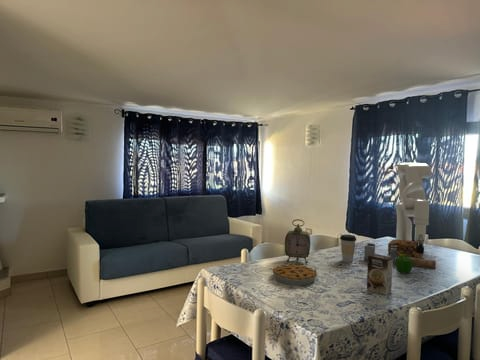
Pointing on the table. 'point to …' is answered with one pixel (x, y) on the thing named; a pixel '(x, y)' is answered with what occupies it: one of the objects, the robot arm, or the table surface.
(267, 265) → the table surface
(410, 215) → the robot arm
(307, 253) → the tabletop clock
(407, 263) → the bell pepper
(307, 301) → the table surface
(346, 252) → the coffee cup
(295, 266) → the pie
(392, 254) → the saddle bracket
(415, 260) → the brown cylinder
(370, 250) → the box
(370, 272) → the coffee box
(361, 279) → the table surface
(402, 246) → the bread
